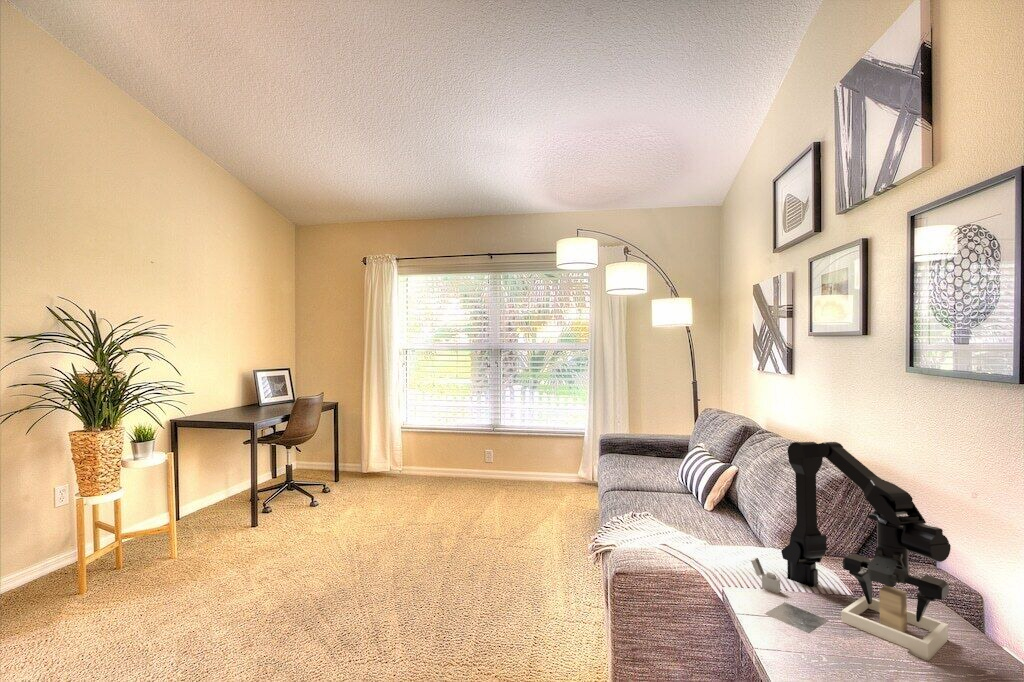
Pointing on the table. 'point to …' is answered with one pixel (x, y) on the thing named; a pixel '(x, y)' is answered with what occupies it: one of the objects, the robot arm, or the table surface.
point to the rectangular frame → (917, 646)
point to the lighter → (766, 577)
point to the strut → (893, 608)
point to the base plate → (796, 617)
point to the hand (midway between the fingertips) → (893, 612)
